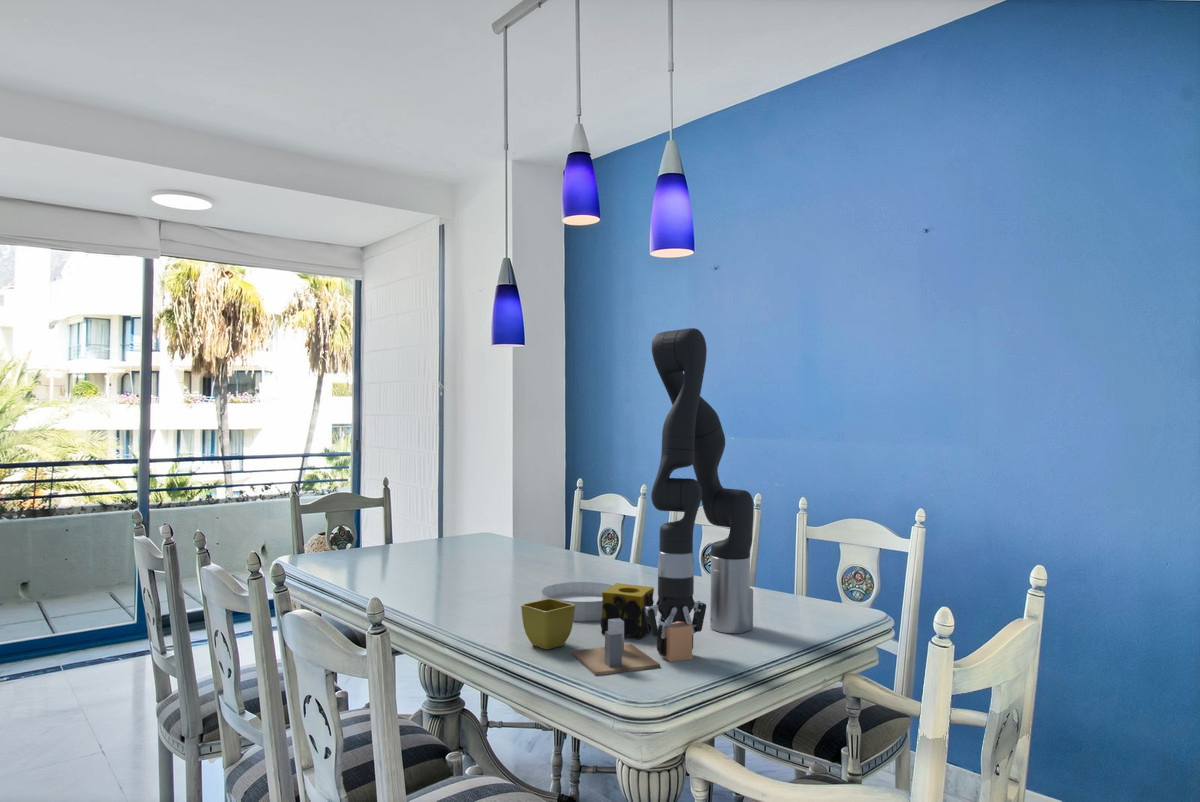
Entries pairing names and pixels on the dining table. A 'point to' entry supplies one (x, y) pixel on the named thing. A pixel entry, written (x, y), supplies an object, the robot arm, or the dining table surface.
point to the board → (630, 662)
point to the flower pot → (548, 622)
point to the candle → (627, 608)
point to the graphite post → (613, 648)
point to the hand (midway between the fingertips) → (674, 653)
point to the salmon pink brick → (678, 642)
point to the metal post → (617, 627)
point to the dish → (579, 598)
